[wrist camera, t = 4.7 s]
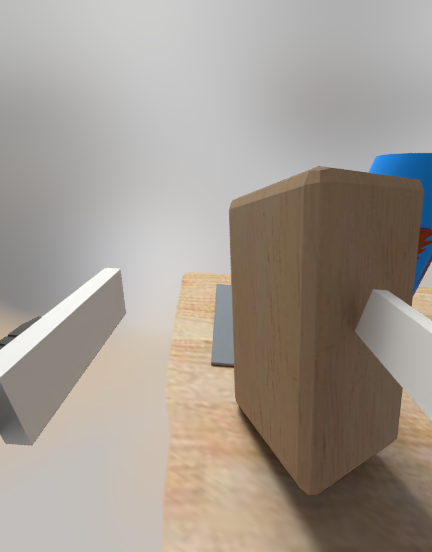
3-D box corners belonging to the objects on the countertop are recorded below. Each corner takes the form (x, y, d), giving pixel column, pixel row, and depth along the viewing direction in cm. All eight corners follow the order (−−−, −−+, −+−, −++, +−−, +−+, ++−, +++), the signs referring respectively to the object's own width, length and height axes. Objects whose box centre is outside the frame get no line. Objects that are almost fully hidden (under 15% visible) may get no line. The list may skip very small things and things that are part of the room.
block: (403, 443, 17) (434, 174, 14) (309, 511, 13) (321, 156, 10) (304, 374, 26) (309, 202, 23) (231, 402, 22) (224, 198, 19)
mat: (301, 292, 45) (302, 291, 45) (357, 376, 26) (358, 374, 26) (216, 285, 45) (216, 283, 45) (211, 364, 26) (211, 362, 26)
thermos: (319, 297, 44) (363, 159, 34) (377, 308, 42) (444, 164, 31) (329, 329, 34) (395, 150, 24) (405, 346, 32) (516, 156, 22)
